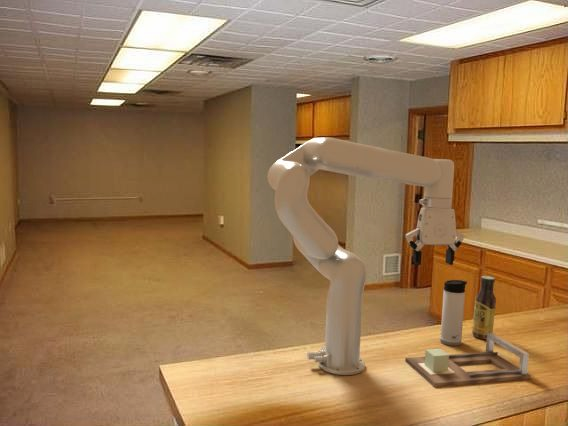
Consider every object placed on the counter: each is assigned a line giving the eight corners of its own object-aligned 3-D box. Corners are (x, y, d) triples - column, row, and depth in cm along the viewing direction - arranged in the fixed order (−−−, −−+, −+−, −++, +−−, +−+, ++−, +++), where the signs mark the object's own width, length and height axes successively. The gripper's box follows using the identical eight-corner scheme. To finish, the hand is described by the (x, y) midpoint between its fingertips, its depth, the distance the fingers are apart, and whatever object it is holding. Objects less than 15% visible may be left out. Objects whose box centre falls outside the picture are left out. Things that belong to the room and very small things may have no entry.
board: (434, 387, 128) (434, 381, 128) (405, 361, 144) (405, 355, 143) (530, 378, 134) (530, 373, 134) (492, 355, 150) (493, 349, 150)
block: (433, 372, 134) (434, 356, 134) (424, 365, 138) (425, 349, 138) (447, 370, 135) (449, 354, 135) (439, 364, 139) (440, 348, 139)
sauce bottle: (467, 334, 167) (471, 274, 165) (483, 332, 169) (488, 274, 166) (480, 341, 161) (485, 279, 158) (497, 339, 163) (502, 278, 160)
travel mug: (458, 348, 154) (463, 284, 152) (437, 342, 158) (441, 280, 156) (465, 342, 159) (469, 280, 157) (444, 337, 163) (448, 276, 161)
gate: (521, 374, 134) (523, 353, 133) (485, 351, 149) (487, 332, 148) (527, 374, 134) (528, 353, 134) (490, 351, 149) (492, 332, 149)
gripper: (413, 204, 136) (410, 267, 138) (473, 205, 139) (468, 266, 141) (402, 201, 143) (399, 261, 146) (459, 202, 147) (454, 261, 149)
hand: (433, 264), depth 143 cm, fingers open, 9 cm apart
